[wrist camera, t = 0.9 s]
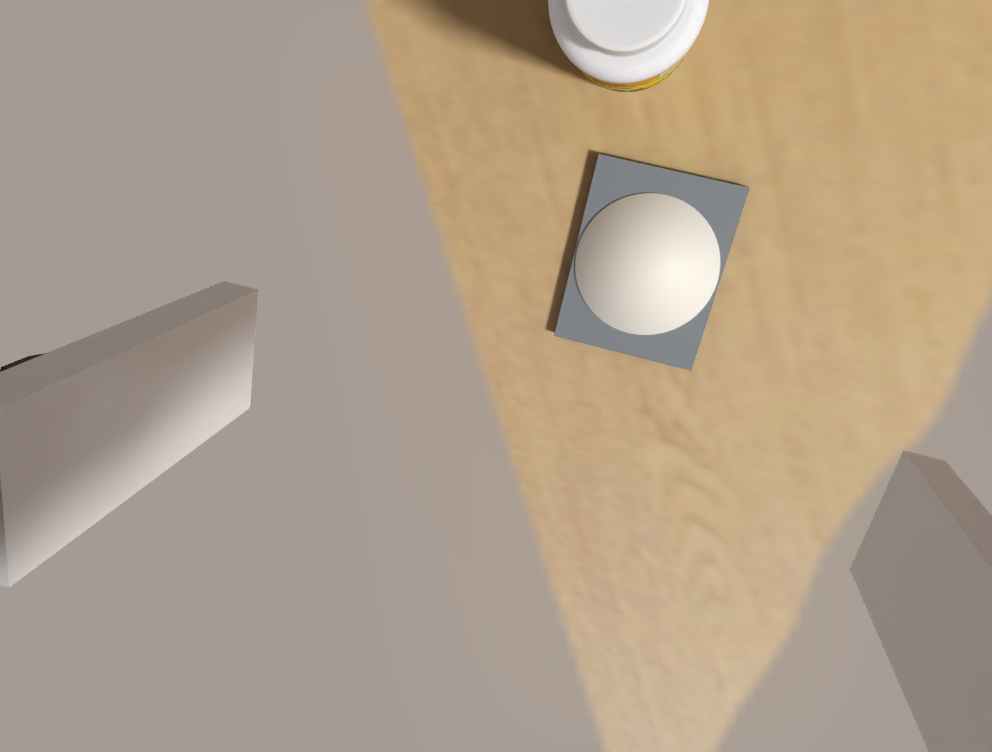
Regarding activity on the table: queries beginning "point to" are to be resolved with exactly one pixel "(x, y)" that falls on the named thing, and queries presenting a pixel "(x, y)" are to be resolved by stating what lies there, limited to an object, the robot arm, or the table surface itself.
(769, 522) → the table surface
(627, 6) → the supplement bottle
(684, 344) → the seat plate
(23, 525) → the robot arm
